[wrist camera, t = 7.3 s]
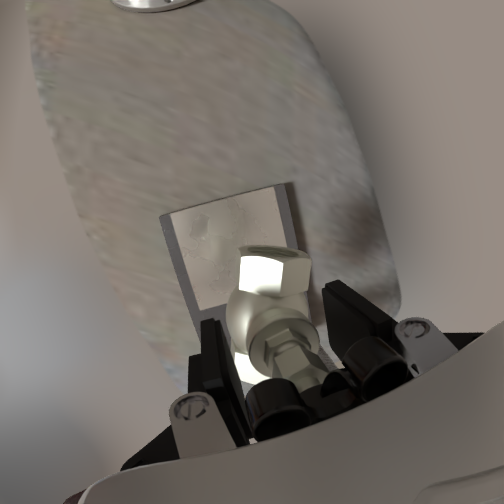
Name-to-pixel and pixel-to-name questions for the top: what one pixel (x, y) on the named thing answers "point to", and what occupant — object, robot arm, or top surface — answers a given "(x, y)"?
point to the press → (225, 248)
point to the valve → (295, 348)
